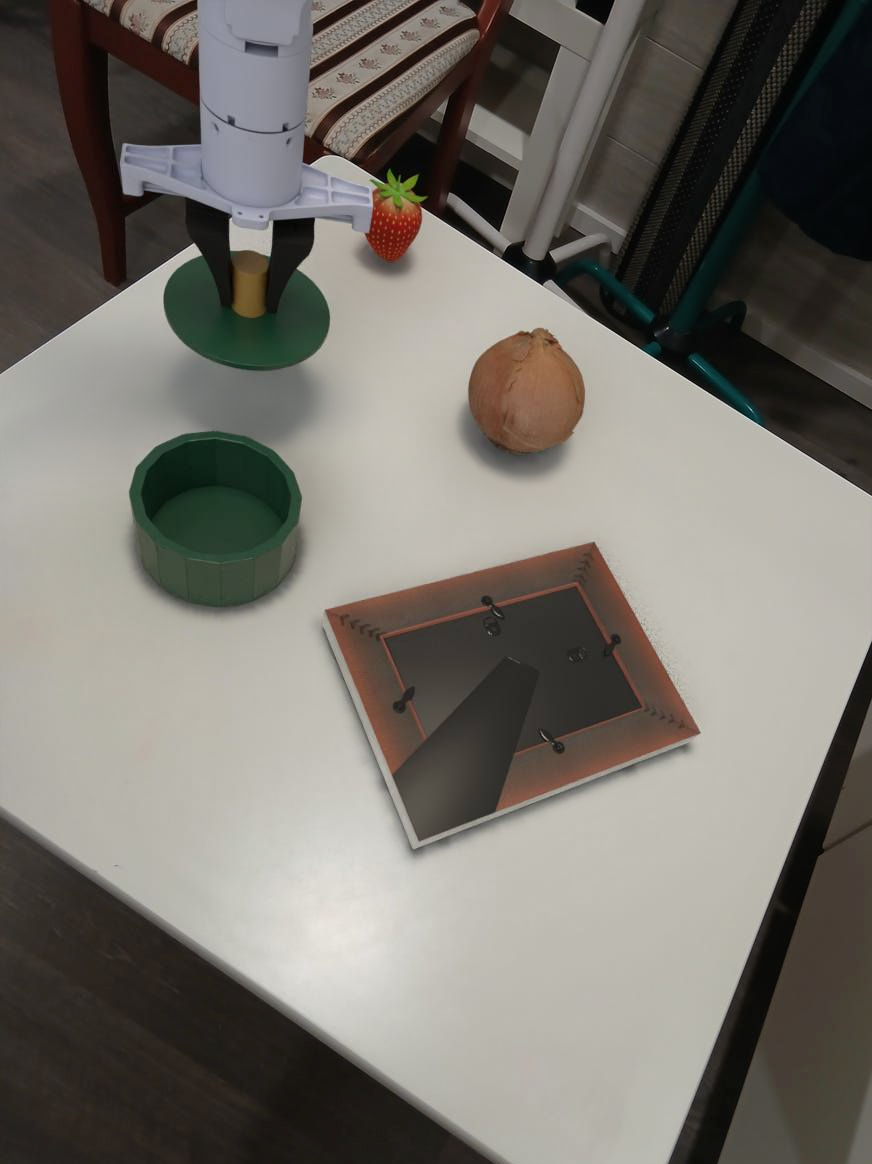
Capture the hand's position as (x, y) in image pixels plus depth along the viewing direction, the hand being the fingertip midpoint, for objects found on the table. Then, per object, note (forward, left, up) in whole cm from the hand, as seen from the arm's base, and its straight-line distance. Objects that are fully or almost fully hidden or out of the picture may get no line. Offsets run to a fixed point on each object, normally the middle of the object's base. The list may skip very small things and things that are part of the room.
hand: (248, 299), depth 58 cm
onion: (+19, +9, -9) cm, 23 cm away
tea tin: (+6, -13, -9) cm, 17 cm away
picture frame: (+28, -13, -9) cm, 32 cm away
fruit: (+1, +21, -9) cm, 23 cm away
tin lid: (0, 0, -1) cm, 1 cm away
